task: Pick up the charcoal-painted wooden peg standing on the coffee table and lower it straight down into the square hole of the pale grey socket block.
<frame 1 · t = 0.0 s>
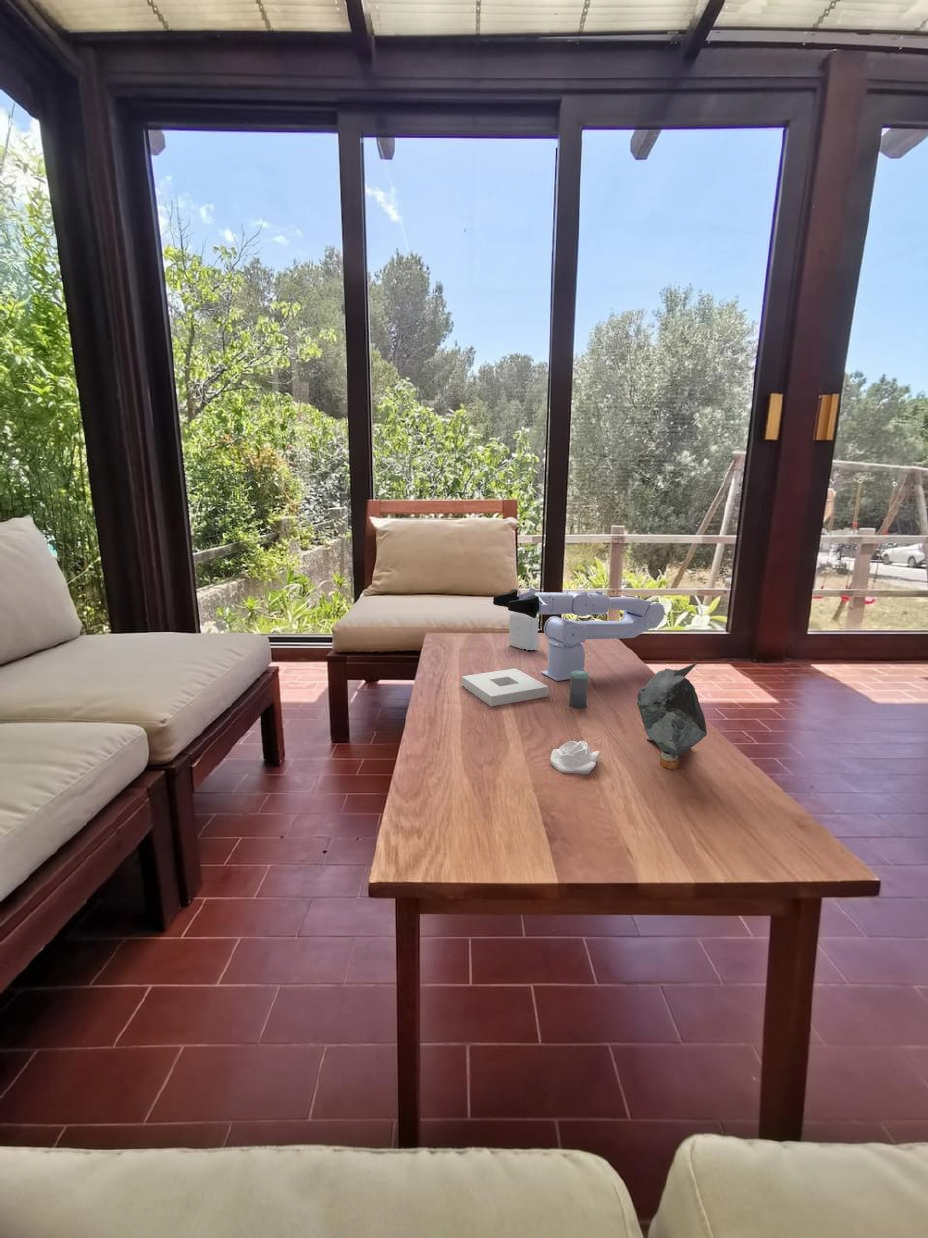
hand: (501, 603, 149), 22 cm above the table, tool horizontal, fingers open, 7 cm apart
rose: (575, 765, 112), on the table
socket block: (503, 690, 150), on the table
grey rock on stand: (667, 759, 114), on the table
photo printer: (522, 648, 188), on the table
peg: (577, 705, 140), on the table
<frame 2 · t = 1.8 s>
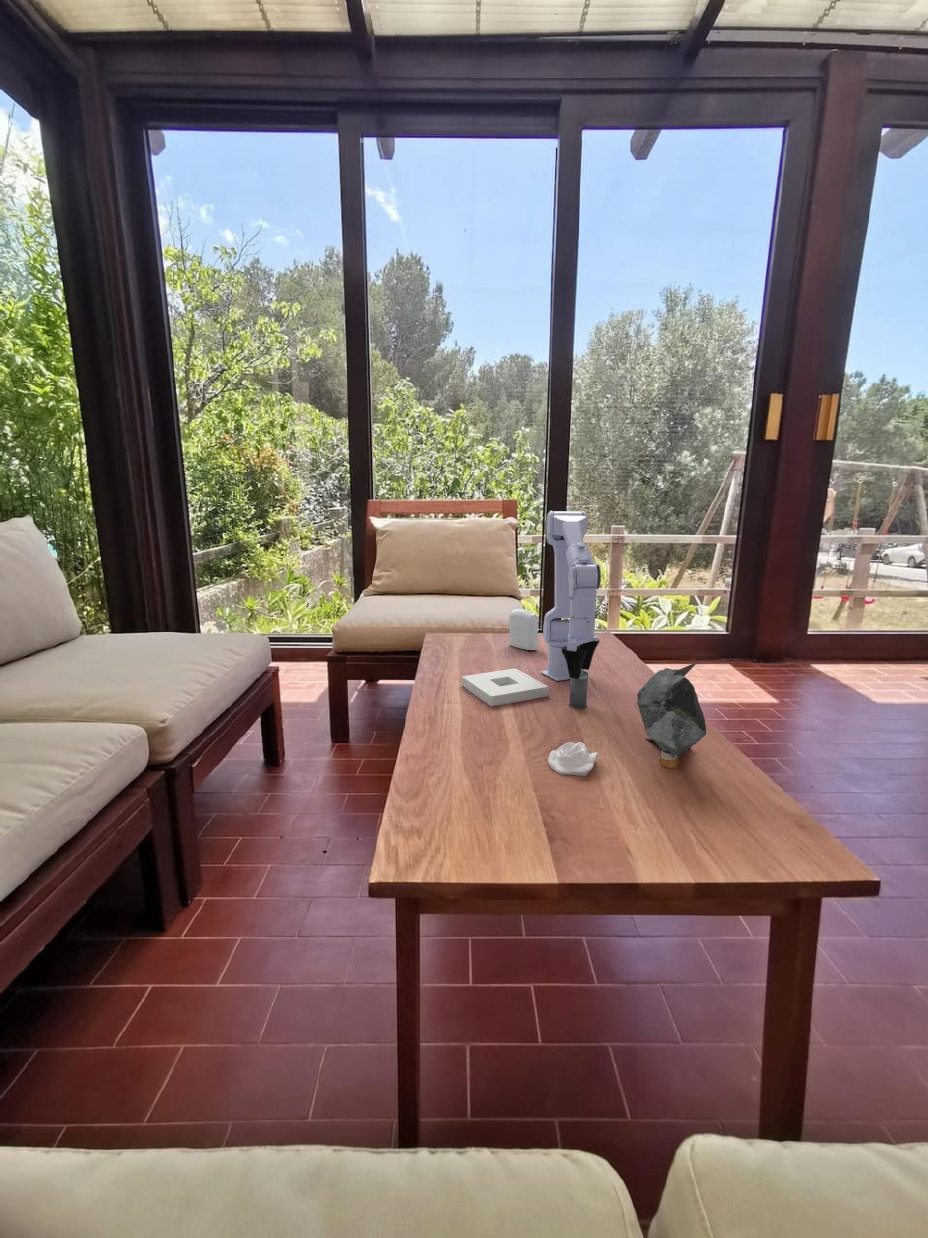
hand: (579, 673, 138), 8 cm above the table, tool pointing down, fingers open, 7 cm apart
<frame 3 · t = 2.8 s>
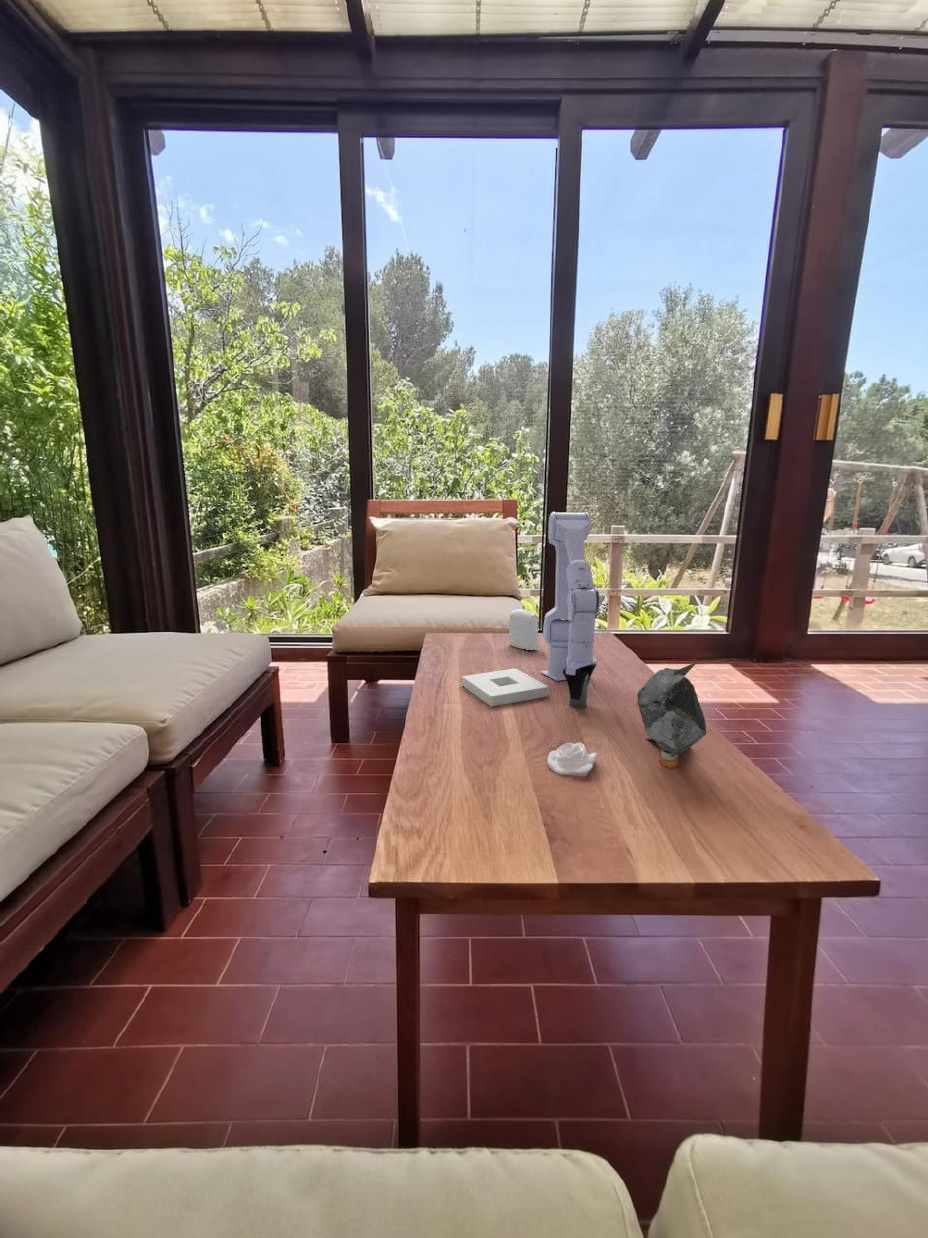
hand: (578, 695, 140), 2 cm above the table, tool pointing down, fingers closed on peg, 4 cm apart
peg: (577, 705, 140), on the table, touching gripper
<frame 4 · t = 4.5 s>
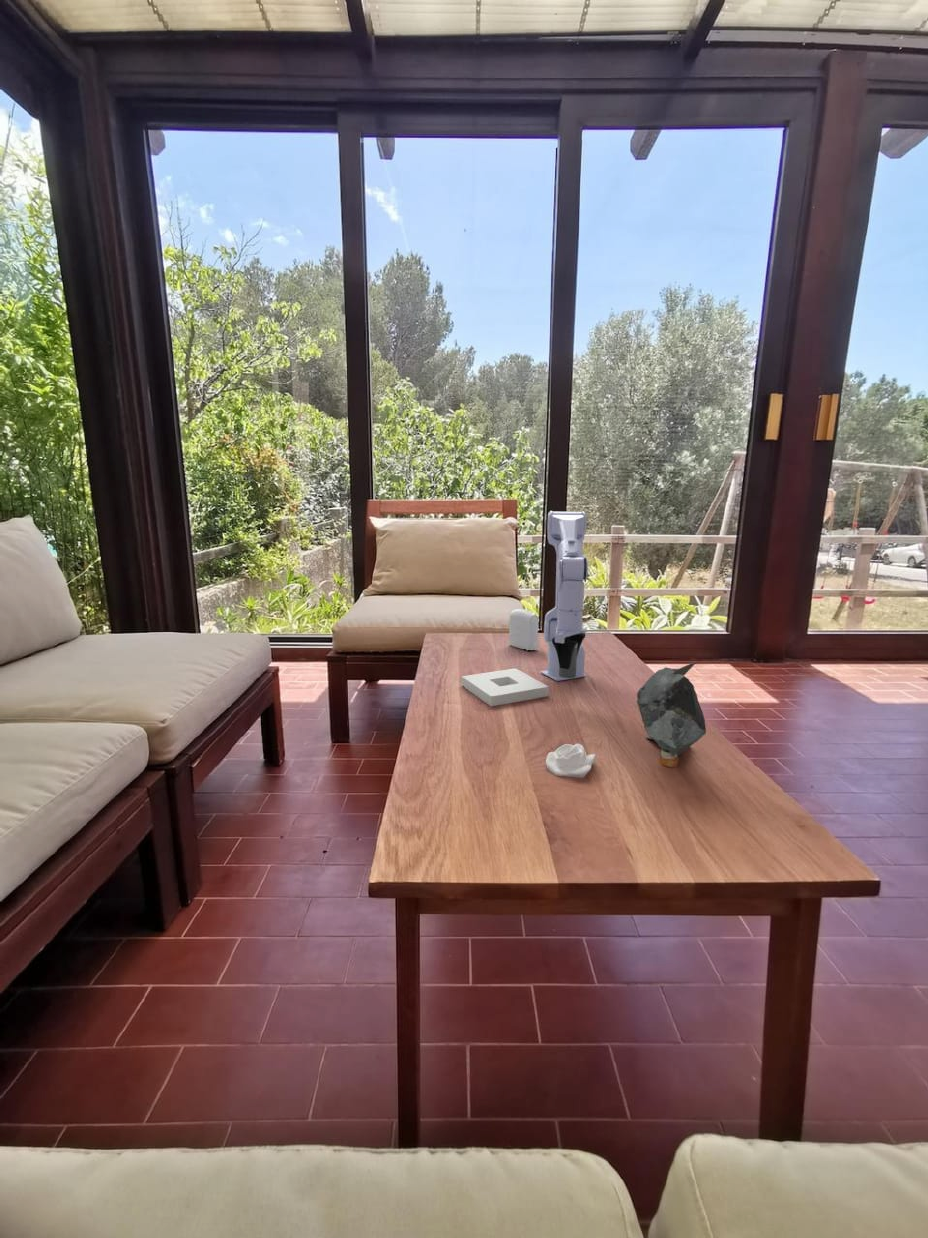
hand: (567, 665, 140), 9 cm above the table, tool pointing down, fingers closed on peg, 4 cm apart
peg: (567, 675, 140), point 7 cm above the table, touching gripper
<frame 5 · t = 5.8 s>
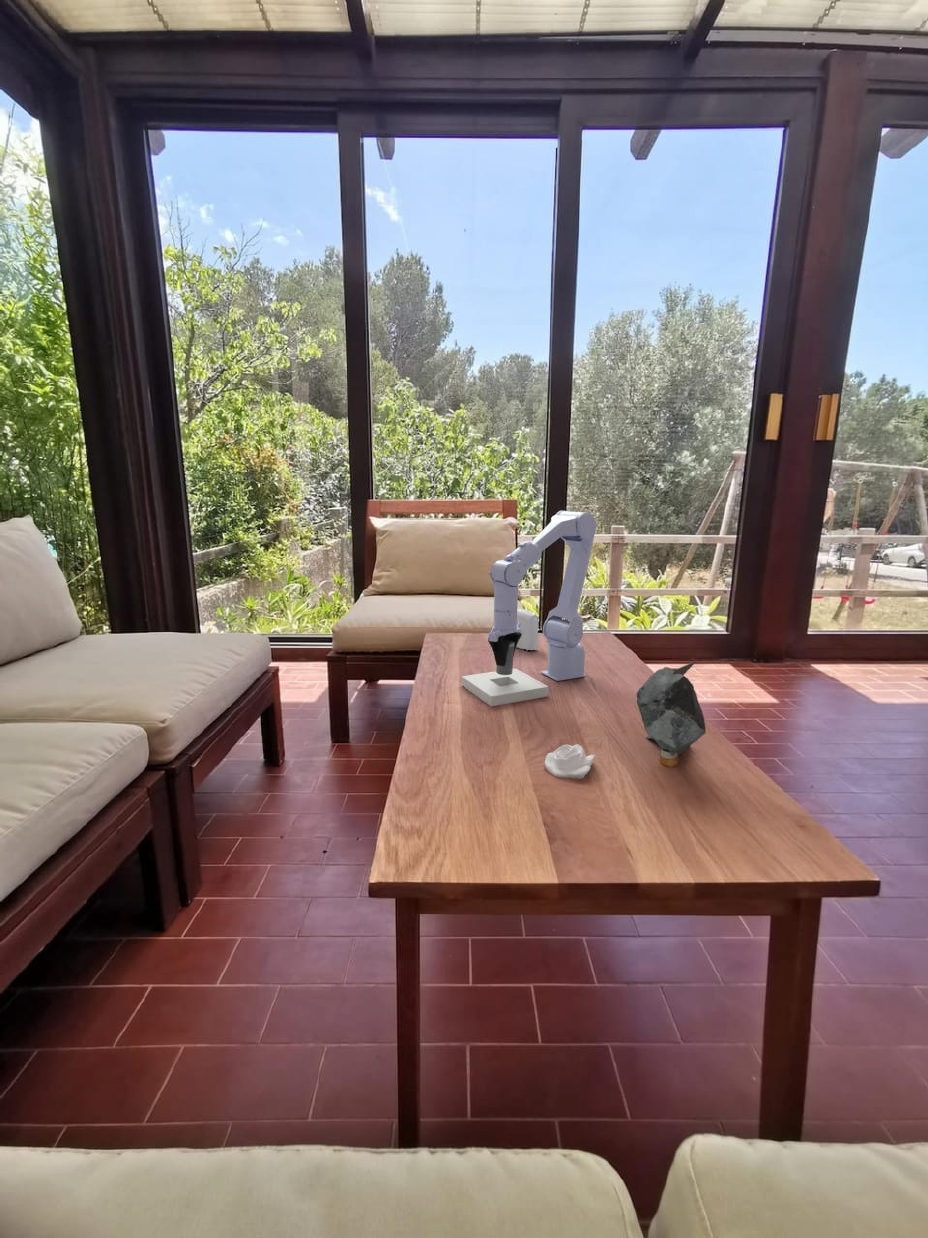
hand: (504, 663, 148), 7 cm above the table, tool pointing down, fingers closed on peg, 4 cm apart
peg: (504, 672, 149), point 5 cm above the table, touching gripper
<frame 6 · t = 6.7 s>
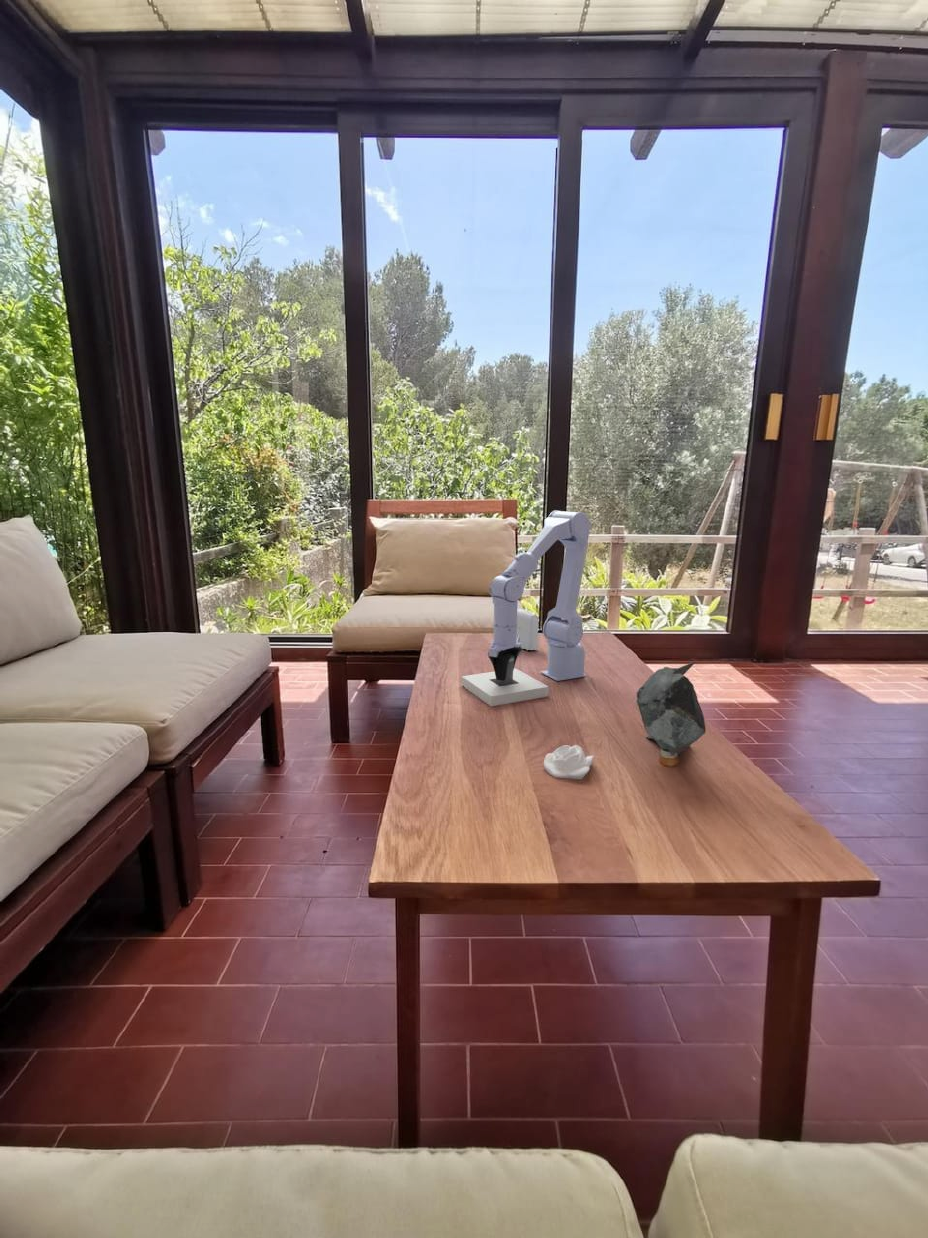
hand: (504, 677, 149), 4 cm above the table, tool pointing down, fingers closed on peg, 4 cm apart
peg: (504, 686, 149), point 1 cm above the table, touching gripper
when the fingers open (4 cm above the table, at t = 7.0 s): peg drops 1 cm, resting in socket block.
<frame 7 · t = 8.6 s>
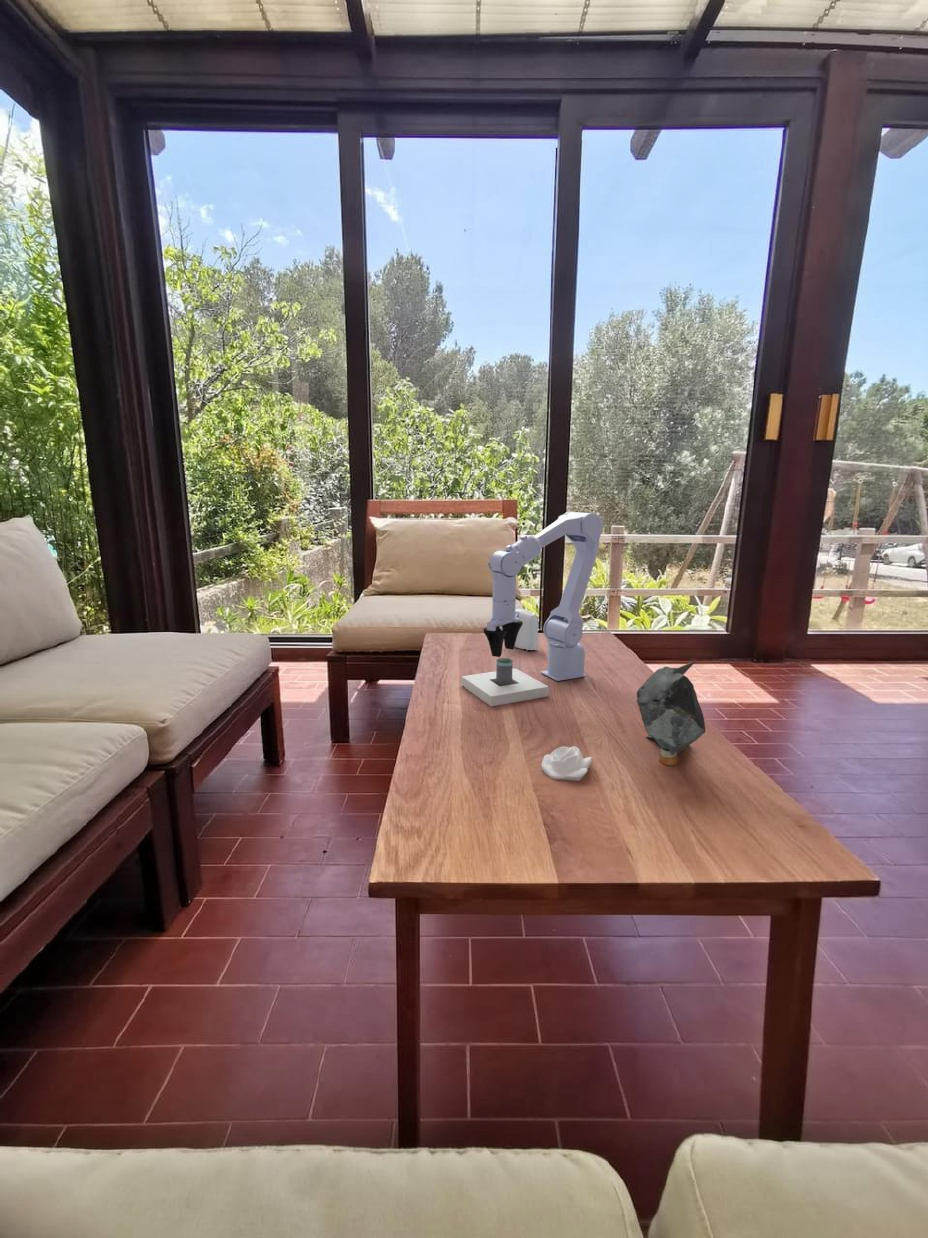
hand: (503, 652, 150), 9 cm above the table, tool pointing down, fingers open, 7 cm apart
peg: (503, 690, 150), resting in socket block
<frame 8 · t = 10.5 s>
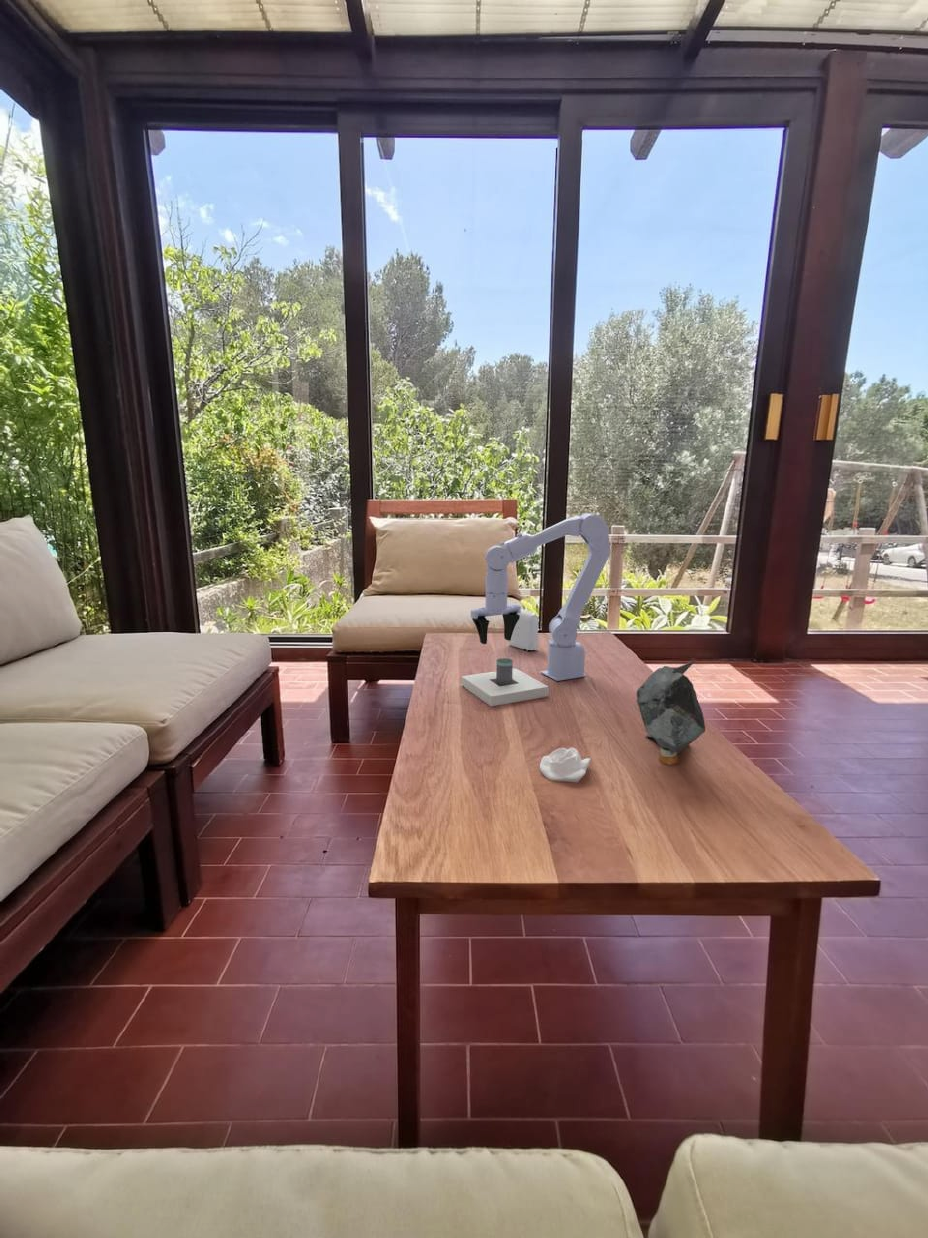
hand: (495, 641, 160), 9 cm above the table, tool pointing down, fingers open, 7 cm apart
at the end: peg 0.0 cm off-centre on the socket block, point 0.0 cm above the socket block's base; peg tilted 0°; the gripper is holding nothing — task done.
